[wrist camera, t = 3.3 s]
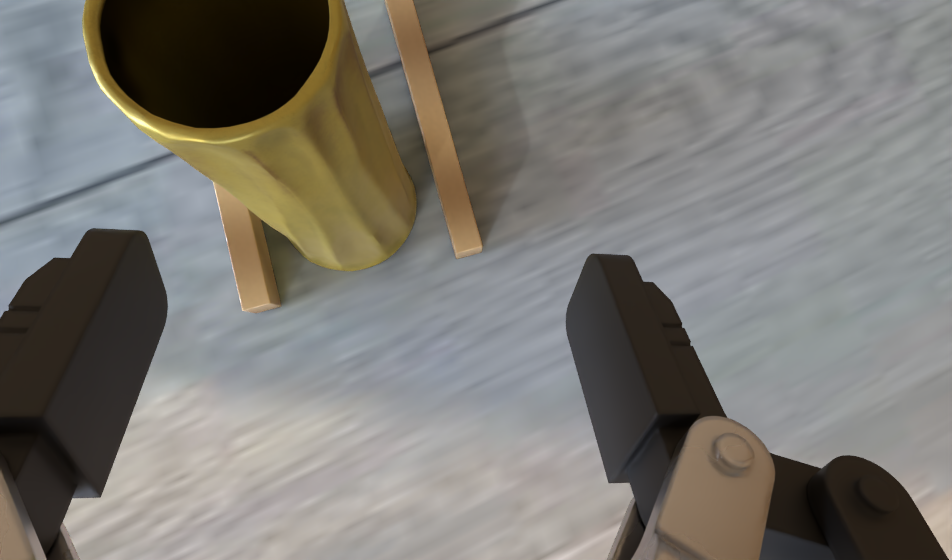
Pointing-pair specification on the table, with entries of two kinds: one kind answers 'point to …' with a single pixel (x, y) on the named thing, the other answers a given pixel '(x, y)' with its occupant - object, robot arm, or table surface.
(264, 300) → the u-shaped frame
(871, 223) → the table surface
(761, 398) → the table surface
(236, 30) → the vase
